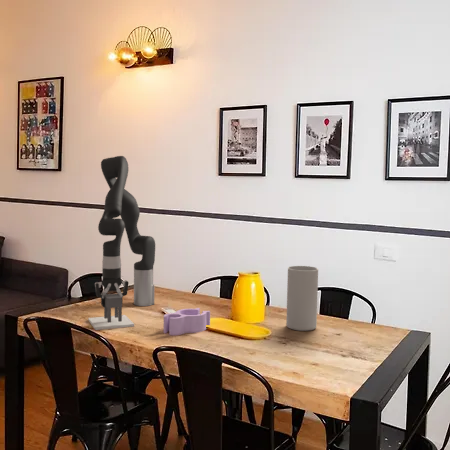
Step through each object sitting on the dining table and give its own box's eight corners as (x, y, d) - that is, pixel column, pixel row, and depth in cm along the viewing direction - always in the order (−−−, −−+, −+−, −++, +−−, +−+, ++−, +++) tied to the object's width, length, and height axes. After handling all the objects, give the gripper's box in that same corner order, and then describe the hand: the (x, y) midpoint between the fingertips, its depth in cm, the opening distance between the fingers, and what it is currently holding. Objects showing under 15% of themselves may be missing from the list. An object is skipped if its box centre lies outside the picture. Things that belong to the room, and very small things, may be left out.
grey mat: (125, 317, 249) (125, 314, 249) (134, 326, 235) (134, 323, 235) (88, 320, 243) (88, 317, 243) (95, 329, 228) (95, 327, 228)
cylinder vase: (292, 321, 246) (293, 264, 244) (320, 325, 240) (322, 267, 238) (282, 328, 235) (283, 269, 232) (311, 332, 229) (313, 271, 227)
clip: (176, 337, 220) (176, 320, 219) (157, 331, 229) (157, 314, 228) (214, 328, 234) (214, 312, 233) (194, 322, 243) (194, 306, 242)
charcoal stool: (107, 298, 229) (103, 294, 237) (107, 322, 230) (103, 317, 237) (122, 297, 232) (117, 293, 239) (122, 321, 232) (117, 316, 240)
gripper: (126, 264, 241) (126, 303, 243) (92, 265, 235) (92, 305, 237) (131, 267, 234) (130, 307, 236) (95, 268, 228) (96, 309, 230)
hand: (111, 306), depth 236 cm, fingers closed on charcoal stool, 6 cm apart
